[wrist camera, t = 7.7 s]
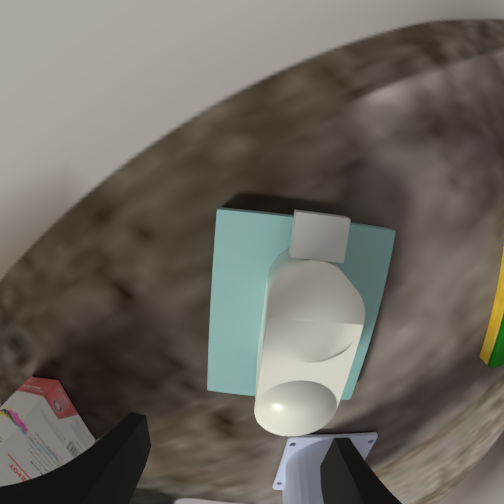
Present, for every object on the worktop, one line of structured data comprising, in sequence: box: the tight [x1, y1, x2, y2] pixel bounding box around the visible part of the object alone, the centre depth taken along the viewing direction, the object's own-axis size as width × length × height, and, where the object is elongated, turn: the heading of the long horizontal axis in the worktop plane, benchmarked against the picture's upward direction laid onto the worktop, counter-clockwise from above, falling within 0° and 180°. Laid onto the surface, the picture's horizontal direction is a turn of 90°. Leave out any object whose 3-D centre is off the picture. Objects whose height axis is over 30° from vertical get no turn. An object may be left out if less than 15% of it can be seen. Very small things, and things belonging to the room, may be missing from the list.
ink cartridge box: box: [0, 376, 95, 486], centre depth 15 cm, size 9×5×15 cm, turn 10°
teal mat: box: [207, 207, 396, 400], centre depth 17 cm, size 12×10×1 cm
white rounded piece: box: [254, 210, 365, 436], centre depth 14 cm, size 11×4×5 cm, turn 175°
